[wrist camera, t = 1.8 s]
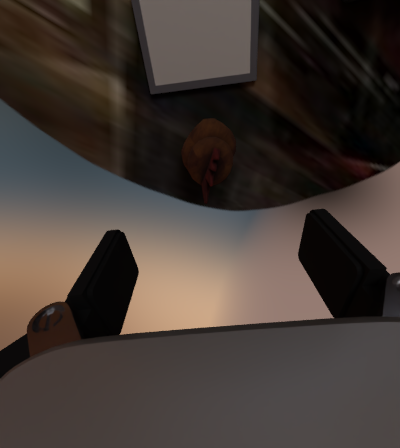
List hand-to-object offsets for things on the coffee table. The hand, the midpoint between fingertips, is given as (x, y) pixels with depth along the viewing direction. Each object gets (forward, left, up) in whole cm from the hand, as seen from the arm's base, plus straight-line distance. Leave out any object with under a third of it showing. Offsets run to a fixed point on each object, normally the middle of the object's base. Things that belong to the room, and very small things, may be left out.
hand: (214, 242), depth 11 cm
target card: (0, -13, -23) cm, 26 cm away
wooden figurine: (0, 0, -23) cm, 23 cm away
